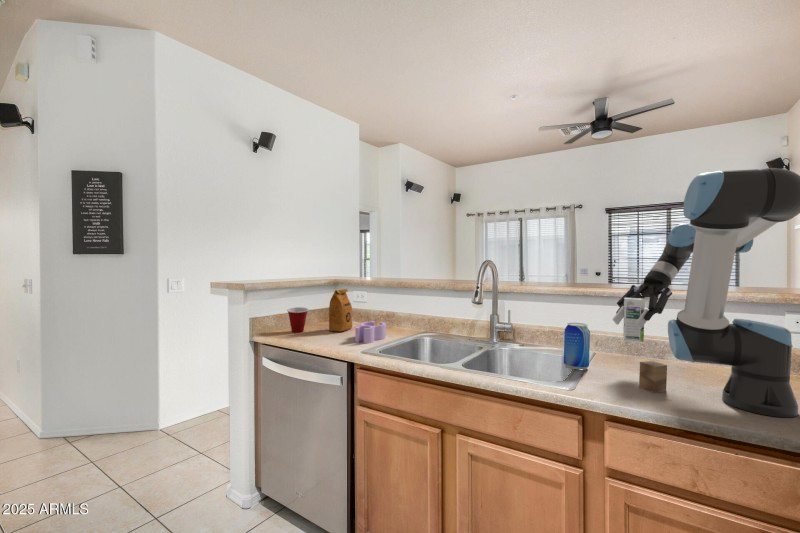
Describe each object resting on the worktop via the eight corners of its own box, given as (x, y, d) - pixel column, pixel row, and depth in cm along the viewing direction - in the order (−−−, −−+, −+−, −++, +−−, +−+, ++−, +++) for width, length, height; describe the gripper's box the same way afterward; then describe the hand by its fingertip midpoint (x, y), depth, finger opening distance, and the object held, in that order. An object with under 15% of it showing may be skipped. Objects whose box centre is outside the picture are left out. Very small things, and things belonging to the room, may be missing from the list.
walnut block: (666, 391, 114) (667, 365, 114) (654, 393, 113) (655, 366, 112) (650, 385, 119) (651, 360, 119) (639, 387, 117) (639, 362, 117)
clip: (373, 344, 169) (373, 329, 169) (348, 342, 174) (348, 327, 174) (390, 336, 188) (390, 322, 188) (368, 334, 192) (368, 320, 192)
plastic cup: (286, 334, 188) (286, 310, 188) (287, 330, 199) (287, 307, 198) (308, 333, 191) (308, 310, 190) (308, 329, 201) (308, 307, 201)
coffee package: (355, 329, 203) (355, 288, 202) (341, 333, 192) (341, 290, 191) (340, 327, 207) (340, 287, 207) (326, 331, 196) (326, 289, 196)
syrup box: (623, 340, 129) (625, 298, 129) (622, 337, 134) (624, 296, 134) (643, 342, 126) (645, 299, 126) (641, 339, 132) (643, 297, 131)
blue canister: (558, 365, 139) (559, 323, 139) (573, 363, 143) (575, 321, 143) (578, 372, 132) (579, 327, 131) (594, 369, 136) (595, 325, 135)
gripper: (696, 286, 126) (661, 337, 120) (637, 282, 145) (605, 326, 140) (686, 270, 124) (650, 321, 118) (628, 268, 143) (595, 312, 138)
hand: (626, 323), depth 129 cm, fingers closed on syrup box, 8 cm apart
